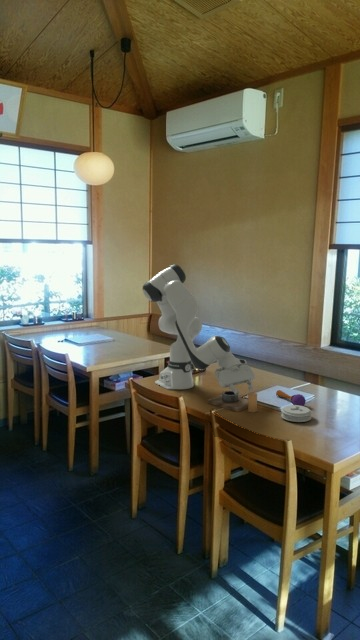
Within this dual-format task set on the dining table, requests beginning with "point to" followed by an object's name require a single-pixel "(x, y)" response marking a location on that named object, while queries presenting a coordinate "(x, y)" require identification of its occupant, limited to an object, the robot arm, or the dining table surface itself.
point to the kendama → (293, 398)
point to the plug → (252, 402)
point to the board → (230, 404)
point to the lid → (296, 413)
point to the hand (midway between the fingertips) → (244, 391)
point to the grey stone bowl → (230, 397)
